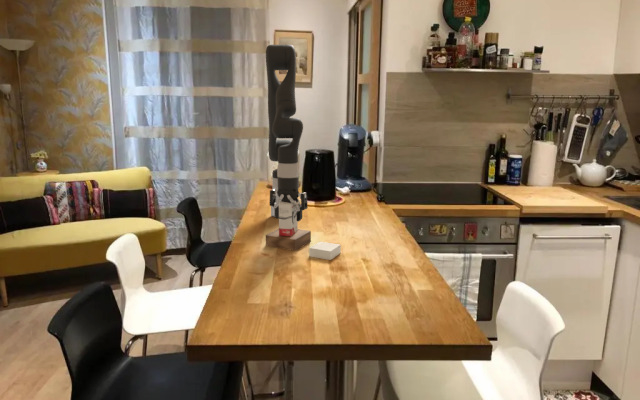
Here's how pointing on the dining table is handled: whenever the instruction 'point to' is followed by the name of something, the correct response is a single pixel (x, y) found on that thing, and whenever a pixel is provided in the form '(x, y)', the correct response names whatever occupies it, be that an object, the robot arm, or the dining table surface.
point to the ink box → (287, 219)
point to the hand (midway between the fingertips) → (288, 219)
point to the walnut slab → (288, 239)
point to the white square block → (324, 250)
